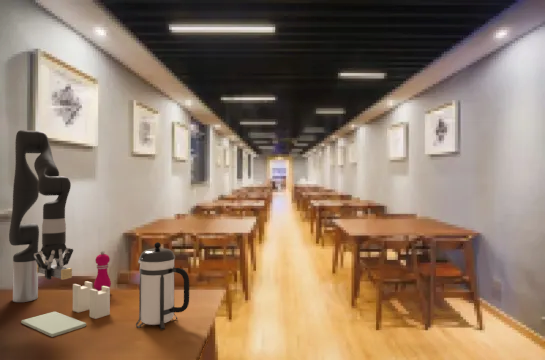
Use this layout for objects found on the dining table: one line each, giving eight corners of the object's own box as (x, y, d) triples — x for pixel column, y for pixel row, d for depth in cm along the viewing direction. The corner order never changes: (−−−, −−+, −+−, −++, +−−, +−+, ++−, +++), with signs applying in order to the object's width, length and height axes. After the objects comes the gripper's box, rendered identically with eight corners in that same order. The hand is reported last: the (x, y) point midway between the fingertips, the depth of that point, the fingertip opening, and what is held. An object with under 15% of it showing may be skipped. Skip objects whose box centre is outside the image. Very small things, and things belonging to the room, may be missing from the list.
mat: (21, 323, 143) (21, 320, 143) (54, 313, 153) (54, 311, 153) (52, 337, 131) (52, 334, 131) (86, 326, 141) (86, 323, 141)
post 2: (89, 316, 150) (89, 289, 150) (103, 312, 155) (103, 285, 155) (95, 318, 148) (95, 290, 148) (109, 314, 153) (109, 287, 153)
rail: (36, 272, 146) (36, 263, 146) (46, 270, 148) (46, 261, 148) (62, 279, 136) (62, 270, 136) (71, 277, 138) (71, 268, 138)
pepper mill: (104, 296, 175) (104, 252, 175) (90, 295, 177) (90, 251, 177) (114, 292, 182) (114, 249, 182) (100, 291, 184) (100, 249, 184)
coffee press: (139, 335, 133) (140, 247, 133) (132, 320, 147) (133, 240, 147) (189, 326, 141) (190, 243, 141) (178, 313, 155) (179, 237, 155)
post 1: (72, 310, 157) (72, 284, 157) (86, 306, 162) (87, 281, 162) (78, 312, 155) (78, 285, 155) (92, 308, 160) (92, 282, 160)
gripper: (67, 228, 150) (67, 273, 150) (28, 232, 138) (28, 280, 138) (78, 229, 146) (78, 275, 146) (38, 233, 134) (38, 284, 134)
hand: (53, 277), depth 142 cm, fingers closed on rail, 3 cm apart
